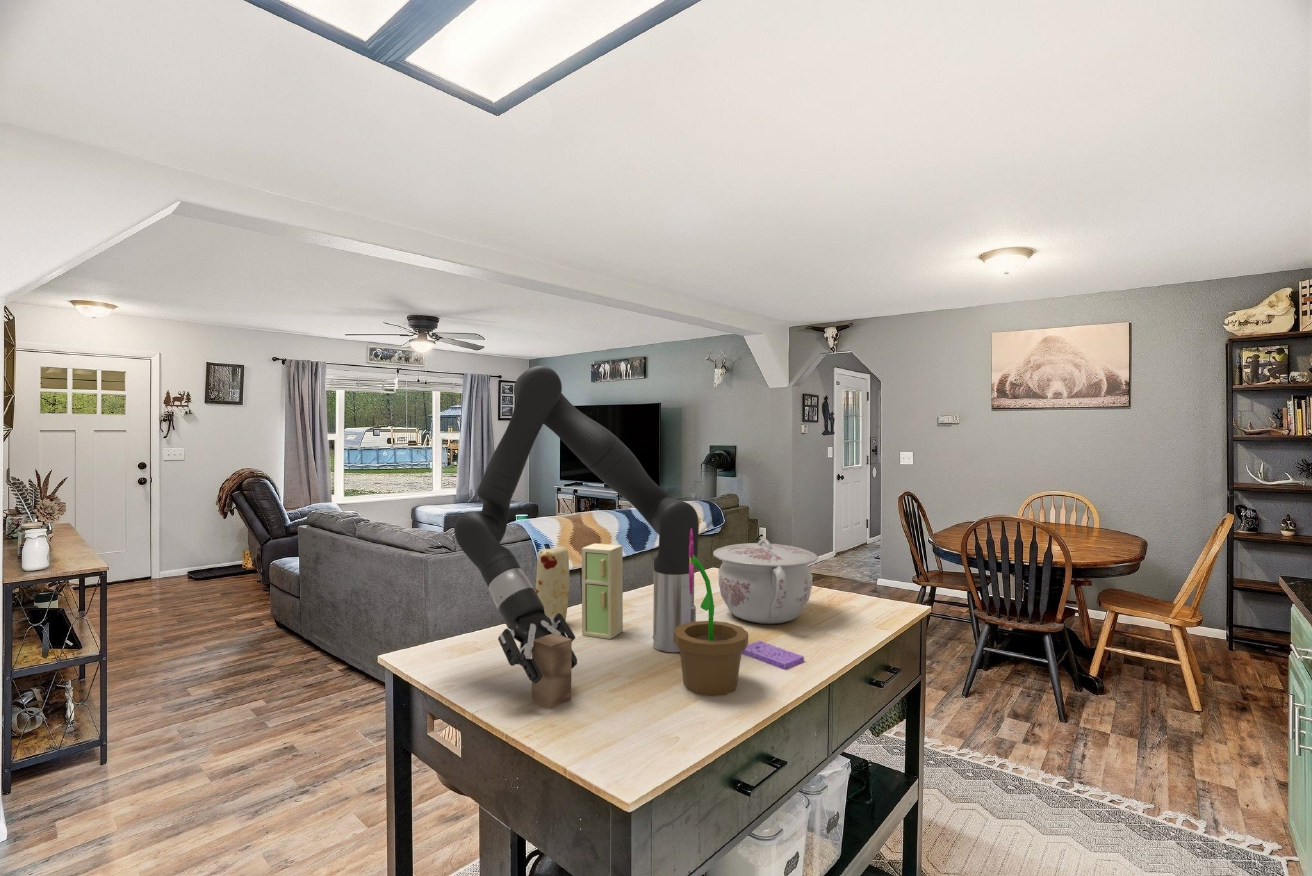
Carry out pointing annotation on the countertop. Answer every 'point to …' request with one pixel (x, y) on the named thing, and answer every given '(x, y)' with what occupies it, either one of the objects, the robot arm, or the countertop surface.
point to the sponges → (772, 655)
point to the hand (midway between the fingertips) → (556, 673)
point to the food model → (553, 580)
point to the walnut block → (552, 670)
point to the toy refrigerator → (602, 590)
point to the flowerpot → (709, 646)
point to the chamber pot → (765, 580)
